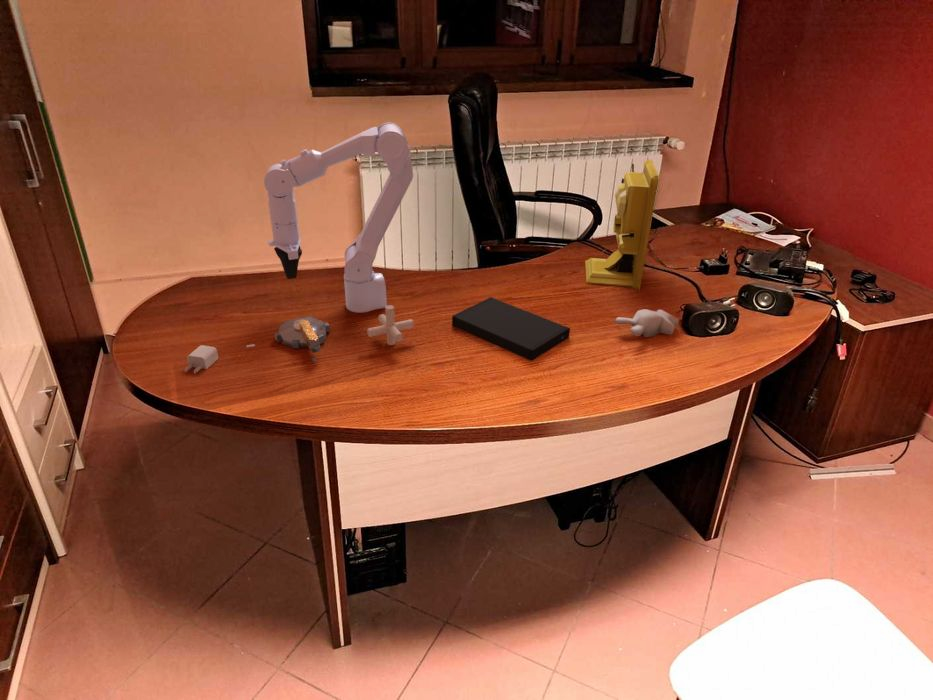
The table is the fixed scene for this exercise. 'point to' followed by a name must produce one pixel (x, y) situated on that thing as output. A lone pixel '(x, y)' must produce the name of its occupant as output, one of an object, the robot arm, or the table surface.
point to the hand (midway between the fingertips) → (291, 277)
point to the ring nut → (303, 333)
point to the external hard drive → (511, 328)
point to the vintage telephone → (628, 231)
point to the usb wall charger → (202, 358)
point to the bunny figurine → (650, 322)
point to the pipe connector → (390, 326)
